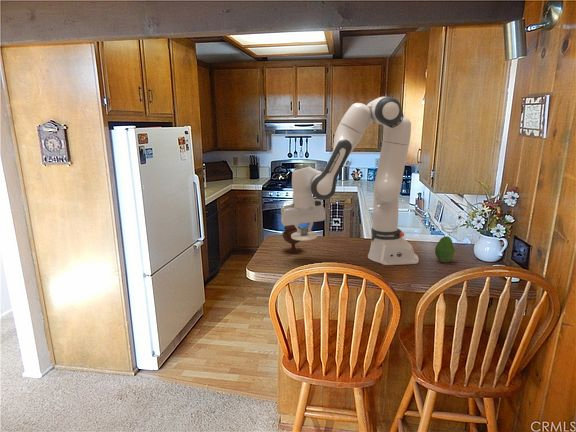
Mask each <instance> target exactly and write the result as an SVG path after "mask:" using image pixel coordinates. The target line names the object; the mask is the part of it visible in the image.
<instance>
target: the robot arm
mask: <svg viewBox="0 0 576 432" xmlns="http://www.w3.org/2000/svg"><path fill="white" fill-rule="evenodd" d="M372 123H373V124H377V125H382V126H383V131H384V132H383V133H384V134H383V139H382V144H381V149H380V152H379V158H378V159H379V160H378V165H377V171H376V175H375V180H374V182H373V183H374V184H373V186H374V187H373V204H372V205H373V207H372V227H371V231H370V240H371V242H370V243H371V244H370V249H369V250H368V254H367V258H368V259H369V260H370V261H372V262H375V263H378V264H381V265H384V266H395V265H397V266H399V265H417V264H418V263H419V260H420V259H419V256H418V255H417V254H416V253H415V252H414V248H413V245H412V244H411V243H410V242H409V241H407V240H406V239H405V238H404V237H405V232H403V231H402V230H401V229H400V228H398V227H399V226H398V225H399V195H400V193H401V189H402V183H403V179H404V173H405V165H406V162H407V157H408V156H407V155H408V152H409V146H410V142H411V136H412V135H411V133H412V122H411V120H410V119H409V118H407V117H405V116H404V112H403V108H402V104H401V103H400V101H399V100H398V99H397V98H395V97H392V96H380V97H376V98H373V99H371V100H370V101H369V102H367V103H366V104H365V103H361V102H355V103H353V104H351V105H350V106H349V107H348V109H347V110H346V112H345V113H344V115H343V116H342V117H341V120H340V122H339V124H338V125H337V128H336V130H335V132H334V133H335V134H334V136H333V148H332V152H331V155H330V157H329V160H328V161H327V164H326V165H325V167H324V169H323V171H320V170H319V169H315V168H313V167H312V166H311V165H308V164H306V165H301V166H296V167H295V168H294V169H293V171H292V173H291V188H292V191H293V193H292V203H290V204H283V205H282V206H281V207H280V214H281V217H280V219H281V224H282V225H283V226H284V227H285V226H288V225H294V226H295V227H296V229H297V233H298V234H299V233H301V229H299V228H298V226H299V227H300V225H301V224H308V226H307V229H308V232H311V231H312V228H313V226H314V222H315V223H316V222H323V221H325V220H326V209H325V207H324V201H326V200H329V199H331V198H332V197H333V196H334V195H335V193H336V189H337V180H338V177H339V175H340V173H341V171H342V169H343V167H344V165H345V163H346V161H347V160H348V158H349V156H350V155H351V153H352V152H353V151H354V150H355V148H356V147H357V145H358V144H359V143H360V141H361V139H362V138H363V135H364V134H365V131H366V130H367V128H368V127H369V126H370V125H371V124H372Z"/></svg>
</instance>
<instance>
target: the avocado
mask: <svg viewBox="0 0 576 432" xmlns="http://www.w3.org/2000/svg"><path fill="white" fill-rule="evenodd" d="M434 253H435V256H436V258H437V260H438V261H439V262H441V263H446V264H447V263H449V262H451V261H452V260H453V258H454V256H455V247H454V243H453V239H452V237H450V236H448V235H446V236H445V235H444V236H442V237H441V238H440V239H439V241H438V242H437V244H436V245H435V248H434Z"/></svg>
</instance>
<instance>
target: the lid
mask: <svg viewBox="0 0 576 432" xmlns="http://www.w3.org/2000/svg"><path fill="white" fill-rule="evenodd" d="M307 228H308V226H307V227H306V226H302V227H301V226H300V229H301V233H299V234H298V233H297V232H295V233H293V234H291V238H292V239H294V240H299V241H300V242H305V241H312V240H315V239H317V238H318V233H317V232H315V231H312V230H311V232H308V229H307Z"/></svg>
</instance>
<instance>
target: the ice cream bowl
mask: <svg viewBox="0 0 576 432" xmlns="http://www.w3.org/2000/svg"><path fill="white" fill-rule="evenodd" d="M298 228H299V229H300V228H301V226H300V225H299V226H298ZM283 229H284V231H282V232H281V234H282V238H283V240H284V241H285V242H286V243H288V244H290V245H291V248H289V249H288V250H287V252H288V253H290V254H298V253H299V249H298V248H296V244H297V243H300V242H301V241H299V240H294V239H292V238H291V234H293V233H295V232H297V229H296V227H295V226H294V225H288V226H284V228H283Z"/></svg>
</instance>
